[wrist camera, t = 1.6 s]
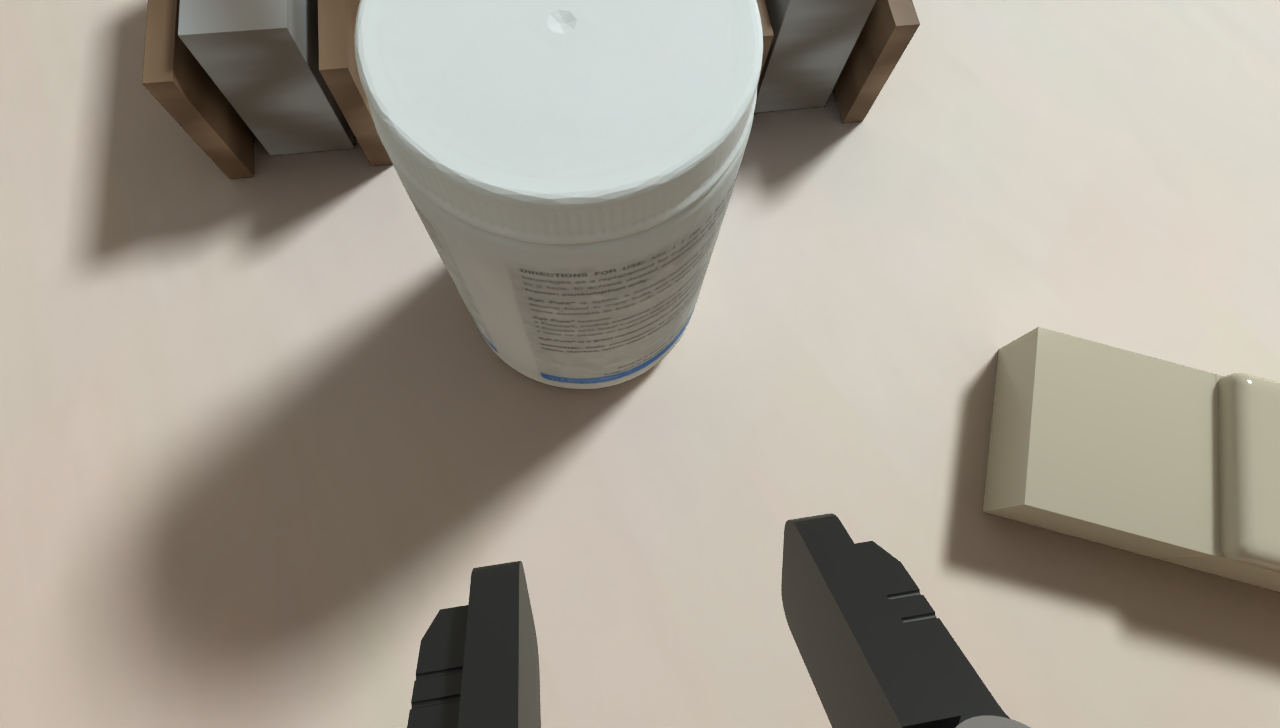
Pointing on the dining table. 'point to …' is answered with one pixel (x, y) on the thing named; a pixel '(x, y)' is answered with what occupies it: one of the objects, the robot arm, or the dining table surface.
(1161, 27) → the dining table surface
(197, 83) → the rack
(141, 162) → the dining table surface
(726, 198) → the supplement tub
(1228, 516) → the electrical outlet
